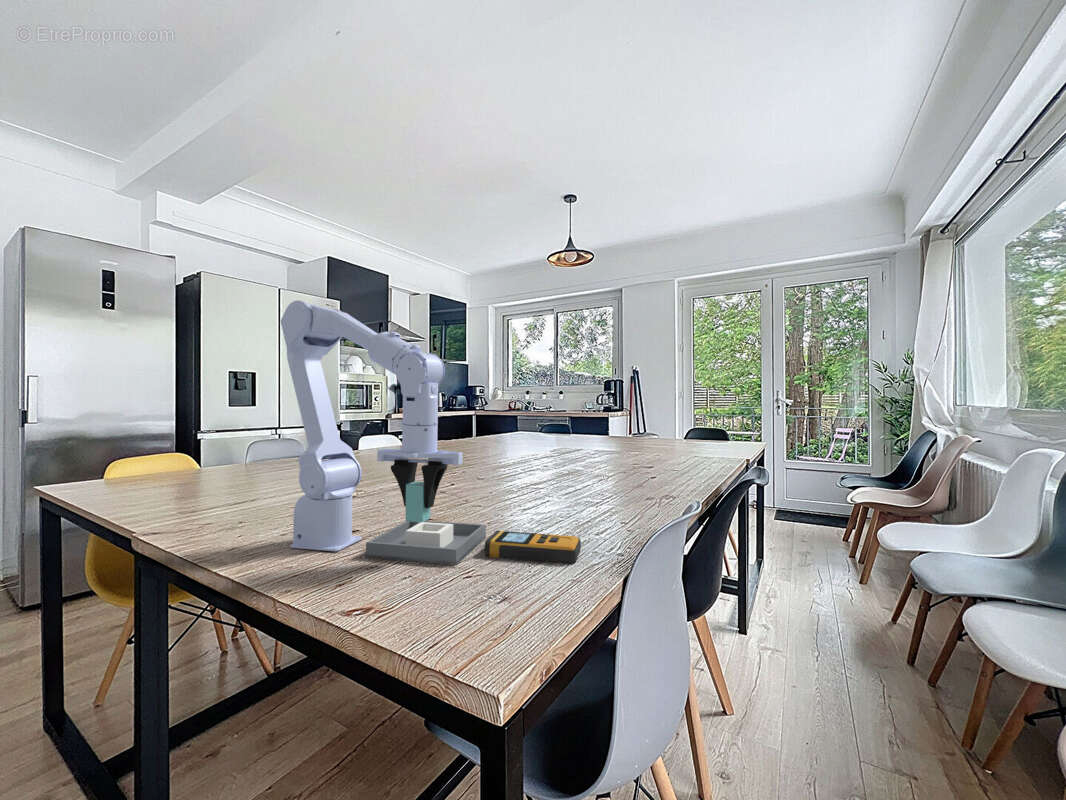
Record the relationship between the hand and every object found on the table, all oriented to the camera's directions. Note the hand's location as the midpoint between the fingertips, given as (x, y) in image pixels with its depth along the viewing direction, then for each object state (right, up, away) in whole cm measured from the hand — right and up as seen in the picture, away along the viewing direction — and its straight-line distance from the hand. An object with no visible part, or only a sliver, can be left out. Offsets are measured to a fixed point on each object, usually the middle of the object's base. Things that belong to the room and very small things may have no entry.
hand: (418, 506), depth 81 cm
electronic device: (+19, -10, +4) cm, 22 cm away
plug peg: (0, -2, 0) cm, 2 cm away
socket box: (0, -9, +7) cm, 11 cm away
